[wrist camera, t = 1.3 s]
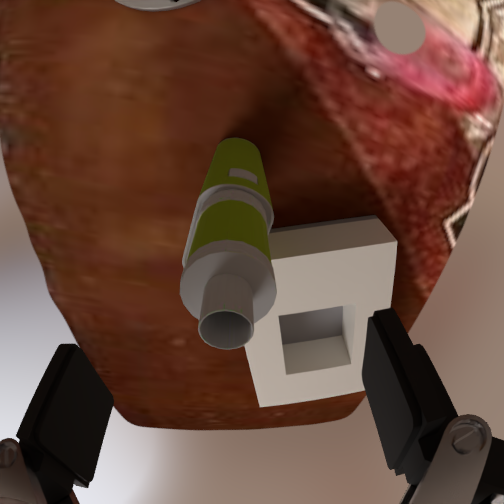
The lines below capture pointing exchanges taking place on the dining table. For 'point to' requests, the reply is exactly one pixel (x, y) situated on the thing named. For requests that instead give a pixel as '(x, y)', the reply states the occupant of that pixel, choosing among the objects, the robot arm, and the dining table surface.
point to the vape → (230, 248)
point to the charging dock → (321, 308)
